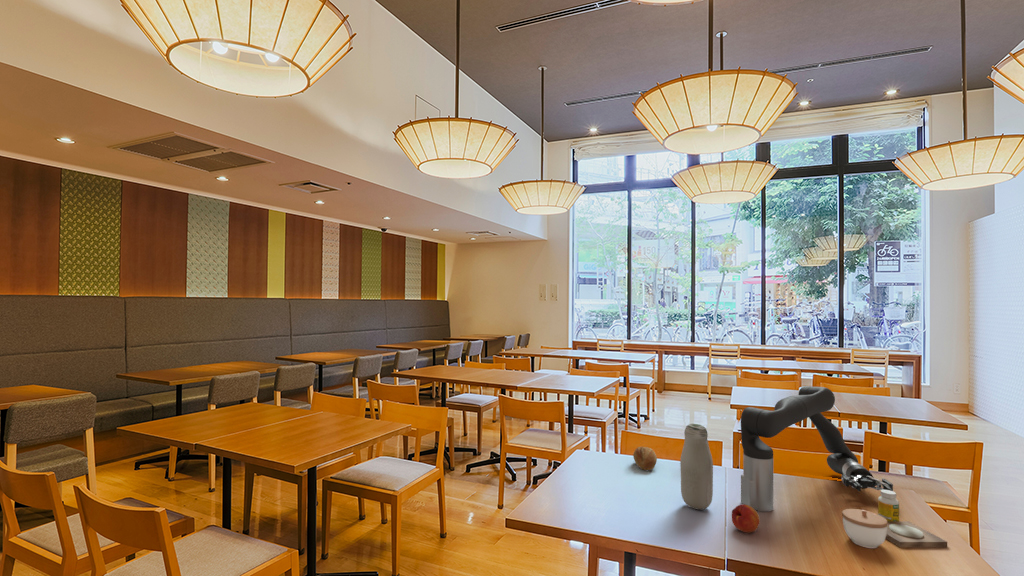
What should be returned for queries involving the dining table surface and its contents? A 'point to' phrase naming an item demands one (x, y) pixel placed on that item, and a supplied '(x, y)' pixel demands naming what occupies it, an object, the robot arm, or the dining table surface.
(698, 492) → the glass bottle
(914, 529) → the serving board
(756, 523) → the fruit
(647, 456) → the bread roll
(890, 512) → the supplement bottle
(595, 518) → the dining table surface
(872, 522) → the lidded jar
